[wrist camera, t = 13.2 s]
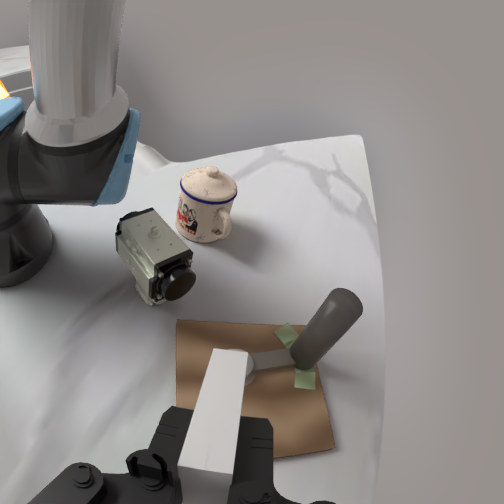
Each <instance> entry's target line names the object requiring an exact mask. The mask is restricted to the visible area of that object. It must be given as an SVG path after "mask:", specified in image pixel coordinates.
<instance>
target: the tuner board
mask: <svg viewBox="0 0 504 504" xmlns="http://www.w3.org/2000/svg"><path fill="white" fill-rule="evenodd" d="M306 326H307V325H289V324H288V323H287V324H285V325H266V324H241V323H222V322H206V321H192V320H179V319H177V324H176V397H177V407H180V408H186V409H191V410H194V409H195V406H196V403H197V400H198V397H199V393H200V390H201V387H202V384H203V381H204V377H205V374H206V371H207V368H208V365H209V361H210V358H211V355H212V352H213V349H214V348H216V349H224V350H232V349H241V350H244V351H246V352H248V353H249V354H252V353H260V352H267V351H274V350H281V349H287V348H290V347H291V345H292V344H293V343H294V341H295V340H296V339H297V338H298V336H299V335H300V334H301V332H302V331H303V330H304V328H305V327H306ZM241 416H247V417H257V418H268V420H269V421H270V423H271V425H272V427H273V458H281V457H289V456H296V455H303V454H309V453H315V452H320V451H326V450H331V449H333V448H335V444H334V439H333V435H332V430H331V425H330V421H329V416H328V412H327V407H326V403H325V399H324V394H323V390H322V386H321V381H320V377H319V373H318V368H317V364H315V365H314V366H313V367H312V368H311V369H308V370H300V369H297V368H295V367H294V366H291V367H285V368H280V369H274V370H268V371H262V372H255V373H250V374H249V375H248V377H247V378H246V379H245V385H244V393H243V402H242V410H241Z"/></svg>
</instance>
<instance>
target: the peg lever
mask: <svg viewBox="0 0 504 504" xmlns="http://www.w3.org/2000/svg"><path fill="white" fill-rule="evenodd" d="M362 312H363V306H362V303H361V301H360V299H359V298H358V297H357V296H356V295H355V294H354V293H353V292H351V291H349V290H347V289H344V288H336V289H334V290H332V291H331V293H330V294H329V295H328V297H327V298H326V300H325V301H324V302H323V304H322V305H321V307H320V308H319V309H318V311H317V312H316V314H315V315H314V316H313V318H312V319H311V320H310V322H309V323H308V324H307V326H306V327H305V328H304V330H303V331H302V332H301V334H300V335H299V336H298V338H297V339H296V340H295V341H294V343H293V344H292V345H291V347H290V348H287V349H281V350H274V351H267V352H260V353H252V354H249V353H248V358H247V367H246V376H245V379H246V378H247V377H248V375H249V374H250V373H255V372H262V371H268V370H274V369H280V368H285V367H291V366H294V367H295V368H297V369H300V370H308V369H311V368H312V367H313V366H314V365H315V364H316V363H317V362H318V361H319V360H320V359H321V358H322V357H323V356H324V355H325V354H326V353H327V352H328V351H329V350H330V349H331V348H332V347H333V346H334V344H335V343H336V342H337V341H338V340H339V339H340V338H341V337H342V336H343V335H344V334H345V333H346V332H347V331H348V329H349V328H350V327H351V326H352V325H353V324H354V323H355V322H356V321H357V319H358V318H359V317H360V316H361V315H362ZM232 351H240V352H246V351H244V350H241V349H232Z"/></svg>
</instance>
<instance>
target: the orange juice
mask: <svg viewBox="0 0 504 504" xmlns="http://www.w3.org/2000/svg"><path fill="white" fill-rule="evenodd" d="M8 97H10V95H9V93H8V92H7V90H6V89H5V87H4V85H3V84H2V82H1V81H0V99H3V98H8Z"/></svg>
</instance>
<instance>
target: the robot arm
mask: <svg viewBox="0 0 504 504" xmlns="http://www.w3.org/2000/svg"><path fill="white" fill-rule="evenodd" d="M124 6H125V0H28V26H29V49H30V62H31V72H32V81H33V90H34V97H35V100H34V101H33V103H32V104H31V105H30V107H29V109H28V110H27V111H24V109H25V104H24V102H23V100H22V98H19V97H18V98H17V97H8V98H3V99H0V287H8V286H13V285H16V284H19V283H21V282H24V281H26V280H27V279H29V278H30V277H32V276H33V275H35V274H36V273H37V272H38V271H39V270H40V269H41V268H42V267H43V266H44V264H45V263H46V261H47V260H48V258H49V256H50V254H51V251H52V246H53V238H52V233H51V229H50V225H49V223H48V221H47V219H46V218H45V216H44V215H43V214H42V212H41V210H40V208H39V207H38V205H37V204H54V205H87V206H97V205H107V204H117V203H119V202H120V201H122V199H123V198H124V197H125V195H126V192H127V188H128V184H129V179H130V174H131V169H132V163H133V157H134V152H135V148H136V143H137V138H138V132H139V127H140V119H141V114H140V112H139V111H136V110H134V109H132V108H130V109H129V107H128V106H129V103H128V96H127V94H126V92H125V91H124V90H123V89H122V88H121V87H120V86H118V85H117V84H116V73H117V62H118V52H119V42H120V34H121V26H122V19H123V13H124ZM247 358H248V352H240V351H232V350H224V349H216V348H214V349H213V352H212V355H211V358H210V361H209V365H208V368H207V371H206V374H205V377H204V381H203V384H202V387H201V390H200V393H199V397H198V400H197V403H196V406H195V409H194V410H191V409H186V408H180V407H175V406H171V407H170V408H169V409H168V410H167V411H166V412H164V413H163V415H162V417H161V420H160V422H159V426H158V427H157V429H156V431H155V434H154V436H153V439H152V441H151V443H150V446H149V448H148V449H144V450H138V451H135V452H134V453H132V454H130V455H129V456H128V458H127V459H126V464H127V467H128V470H129V473H125V474H108V473H101V471H100V470H99V469H98V468H96V467H95V466H93V465H91V464H89V463H81V462H79V463H75V464H72V465H70V466H68V467H67V468H66V469H65V470H64V471H62V472H61V473H60V474H59V475H58V476H57V477H56V478H55V479H54V480H53V481H52V482H51V483H50V484H48V485H47V486H46V487H45V488H44V489H43V490H42V491H41V492H40V493H39V494H38V495H37V496H35V497H34V498H33V499H32V500H31V501H30V502H29V503H28V504H300V503H297V502H293V501H290V500H288V499H286V498H284V497H283V496H281V495H280V494H279V493H278V492H277V491H276V489H275V487H274V483H273V427H272V425H271V423H270V421H269V420H268V418H257V417H247V416H241V410H242V402H243V393H244V385H245V376H246V367H247ZM310 504H335V503H333V502H329V501H316V502H313V503H310Z"/></svg>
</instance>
